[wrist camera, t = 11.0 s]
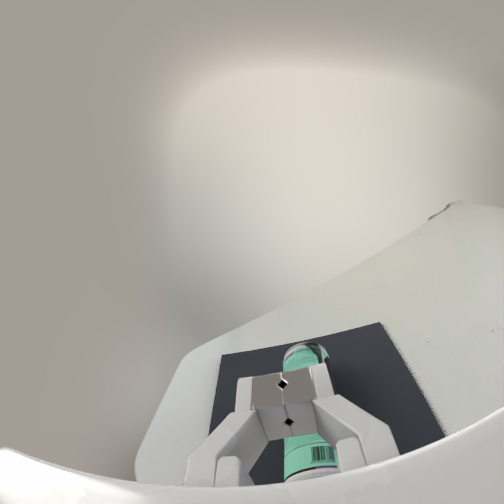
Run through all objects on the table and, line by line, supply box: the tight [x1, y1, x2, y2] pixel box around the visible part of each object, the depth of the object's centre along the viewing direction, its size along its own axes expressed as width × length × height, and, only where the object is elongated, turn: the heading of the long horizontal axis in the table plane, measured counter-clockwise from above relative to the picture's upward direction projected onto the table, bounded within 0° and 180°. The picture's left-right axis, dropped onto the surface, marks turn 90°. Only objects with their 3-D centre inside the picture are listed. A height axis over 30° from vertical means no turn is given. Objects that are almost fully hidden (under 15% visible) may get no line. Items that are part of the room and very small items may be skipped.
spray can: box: [283, 342, 337, 483], centre depth 26 cm, size 6×6×20 cm
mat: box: [209, 322, 445, 486], centre depth 30 cm, size 24×24×1 cm
